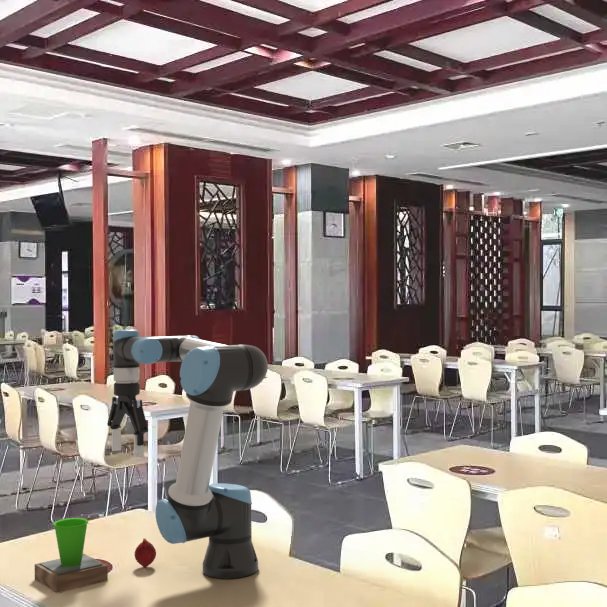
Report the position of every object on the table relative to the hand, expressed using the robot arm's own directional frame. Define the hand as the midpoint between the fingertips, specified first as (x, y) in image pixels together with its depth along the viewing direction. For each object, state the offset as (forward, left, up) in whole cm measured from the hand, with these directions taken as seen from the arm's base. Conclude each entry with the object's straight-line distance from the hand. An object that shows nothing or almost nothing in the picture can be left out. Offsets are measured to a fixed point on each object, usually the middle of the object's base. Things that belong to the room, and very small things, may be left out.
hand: (127, 453), depth 243 cm
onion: (-17, +4, -29) cm, 34 cm away
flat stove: (-13, +24, -29) cm, 40 cm away
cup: (-13, +24, -25) cm, 37 cm away
